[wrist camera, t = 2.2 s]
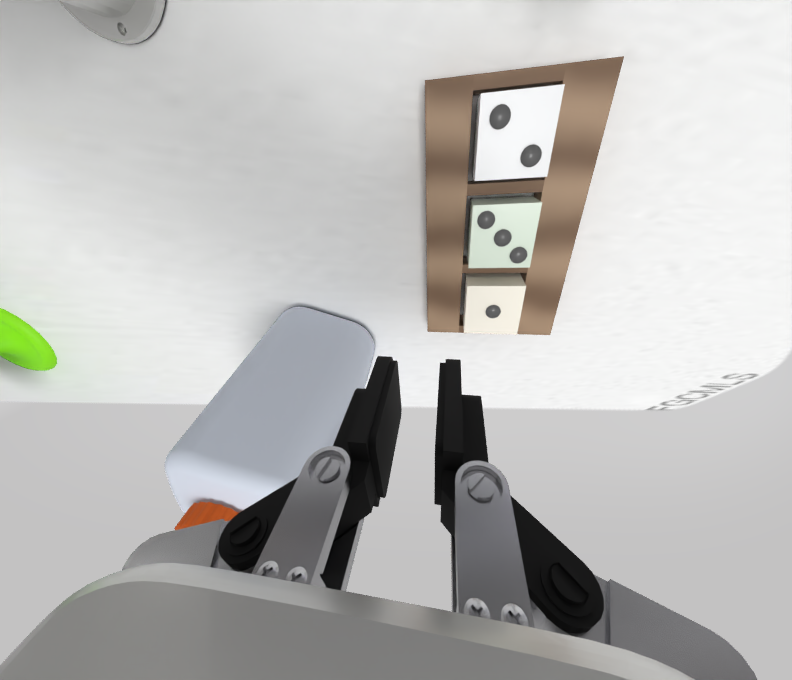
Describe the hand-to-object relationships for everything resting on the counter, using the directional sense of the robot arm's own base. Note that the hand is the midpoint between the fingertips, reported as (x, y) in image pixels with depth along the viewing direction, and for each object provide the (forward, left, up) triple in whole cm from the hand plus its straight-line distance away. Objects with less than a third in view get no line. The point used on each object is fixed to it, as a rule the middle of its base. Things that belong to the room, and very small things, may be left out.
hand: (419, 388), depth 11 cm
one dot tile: (+8, +6, -26) cm, 28 cm away
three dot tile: (0, +6, -26) cm, 26 cm away
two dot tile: (-8, +6, -26) cm, 28 cm away
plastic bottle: (+18, -18, -27) cm, 38 cm away
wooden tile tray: (0, +6, -27) cm, 28 cm away
